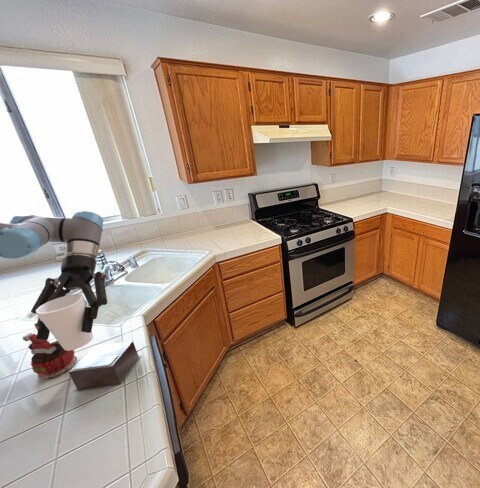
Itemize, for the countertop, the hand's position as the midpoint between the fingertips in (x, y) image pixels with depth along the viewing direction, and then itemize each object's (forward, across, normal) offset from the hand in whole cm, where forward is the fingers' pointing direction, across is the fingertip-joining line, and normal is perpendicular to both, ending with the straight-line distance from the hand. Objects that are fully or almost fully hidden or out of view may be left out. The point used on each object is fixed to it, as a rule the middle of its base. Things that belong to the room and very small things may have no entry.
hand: (64, 335), depth 70 cm
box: (+9, -1, -20) cm, 22 cm away
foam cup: (+1, 0, -6) cm, 6 cm away
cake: (+4, +18, -25) cm, 31 cm away
